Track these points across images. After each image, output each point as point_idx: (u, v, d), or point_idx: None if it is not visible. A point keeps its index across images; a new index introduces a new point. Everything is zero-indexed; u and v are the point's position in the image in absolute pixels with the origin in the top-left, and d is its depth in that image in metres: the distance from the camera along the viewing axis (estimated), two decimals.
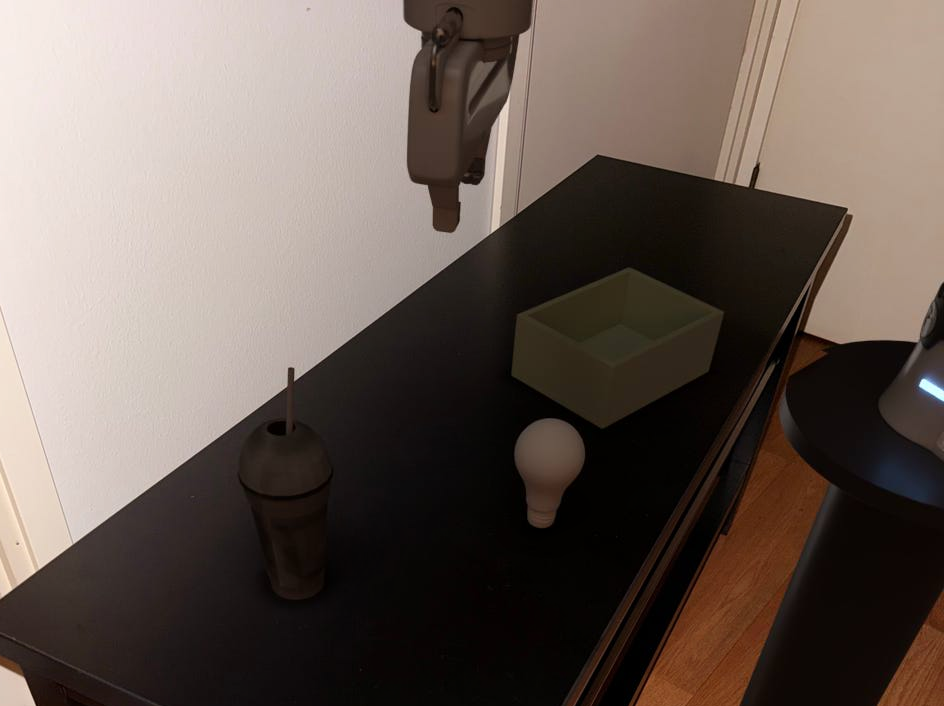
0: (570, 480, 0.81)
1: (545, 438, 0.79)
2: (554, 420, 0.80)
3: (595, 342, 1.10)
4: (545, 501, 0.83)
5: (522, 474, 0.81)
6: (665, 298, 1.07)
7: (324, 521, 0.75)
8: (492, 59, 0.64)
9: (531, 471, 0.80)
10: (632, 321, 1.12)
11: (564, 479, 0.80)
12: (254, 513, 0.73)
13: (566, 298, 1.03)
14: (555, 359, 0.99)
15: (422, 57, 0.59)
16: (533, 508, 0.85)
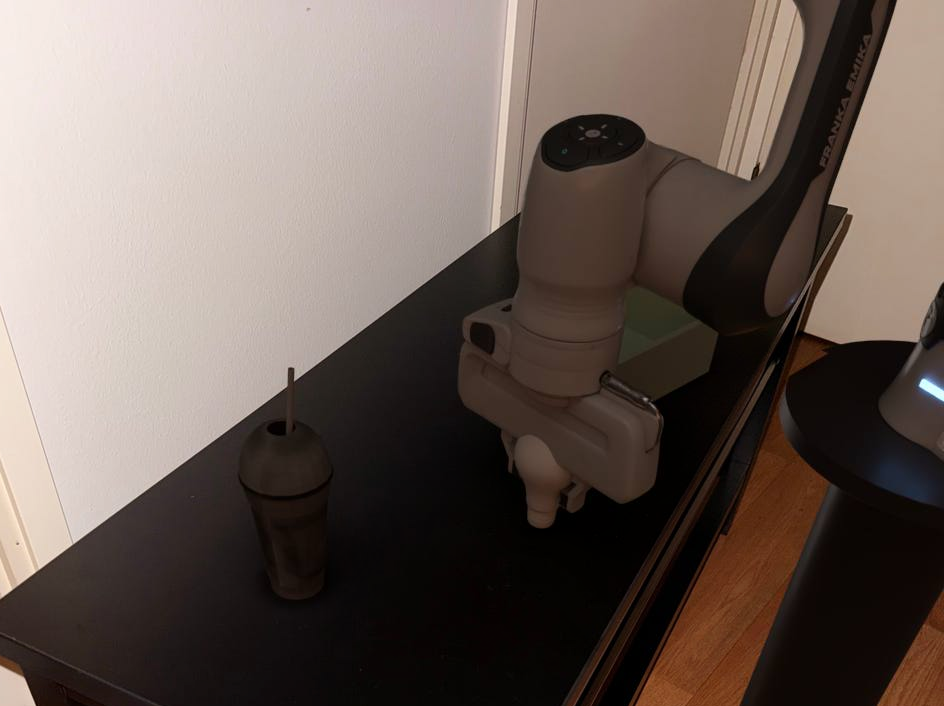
0: (570, 480, 0.81)
1: None
2: None
3: None
4: (545, 501, 0.83)
5: (522, 474, 0.81)
6: None
7: (324, 521, 0.75)
8: None
9: (531, 472, 0.80)
10: (632, 321, 1.12)
11: (564, 479, 0.80)
12: (254, 513, 0.73)
13: None
14: None
15: (630, 420, 0.71)
16: (533, 508, 0.84)
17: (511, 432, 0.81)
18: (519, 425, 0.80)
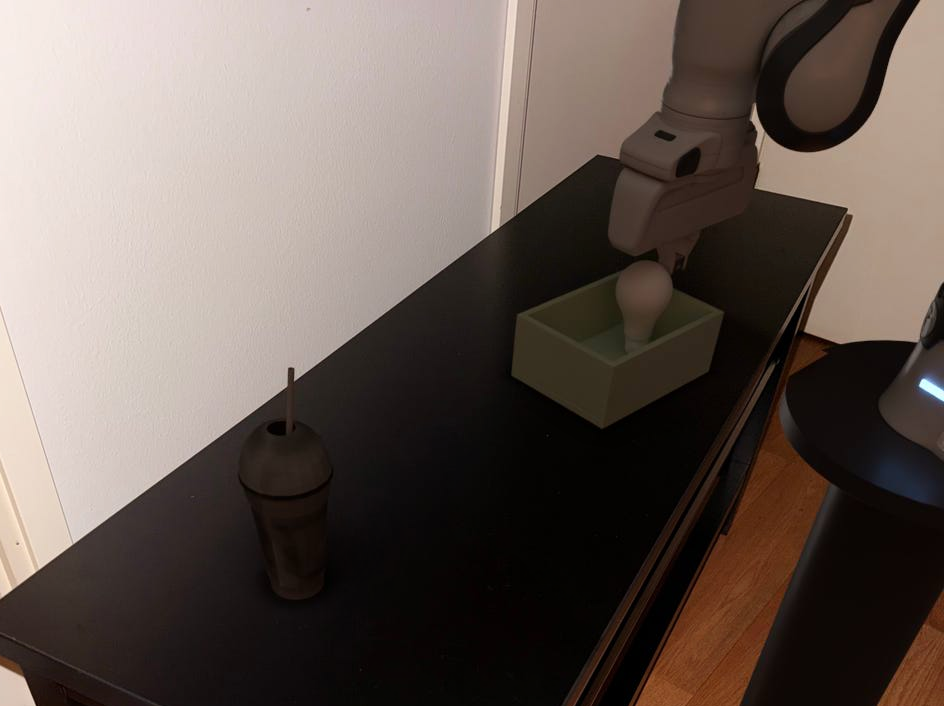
0: (661, 310, 1.02)
1: (641, 275, 0.99)
2: (648, 261, 1.00)
3: (595, 342, 1.10)
4: (641, 330, 1.04)
5: (622, 307, 1.02)
6: None
7: (324, 521, 0.75)
8: None
9: (630, 303, 1.01)
10: None
11: (657, 308, 1.01)
12: (254, 513, 0.73)
13: (566, 298, 1.03)
14: (555, 359, 0.99)
15: (751, 143, 0.99)
16: (630, 338, 1.05)
17: (676, 236, 0.98)
18: (683, 223, 0.97)
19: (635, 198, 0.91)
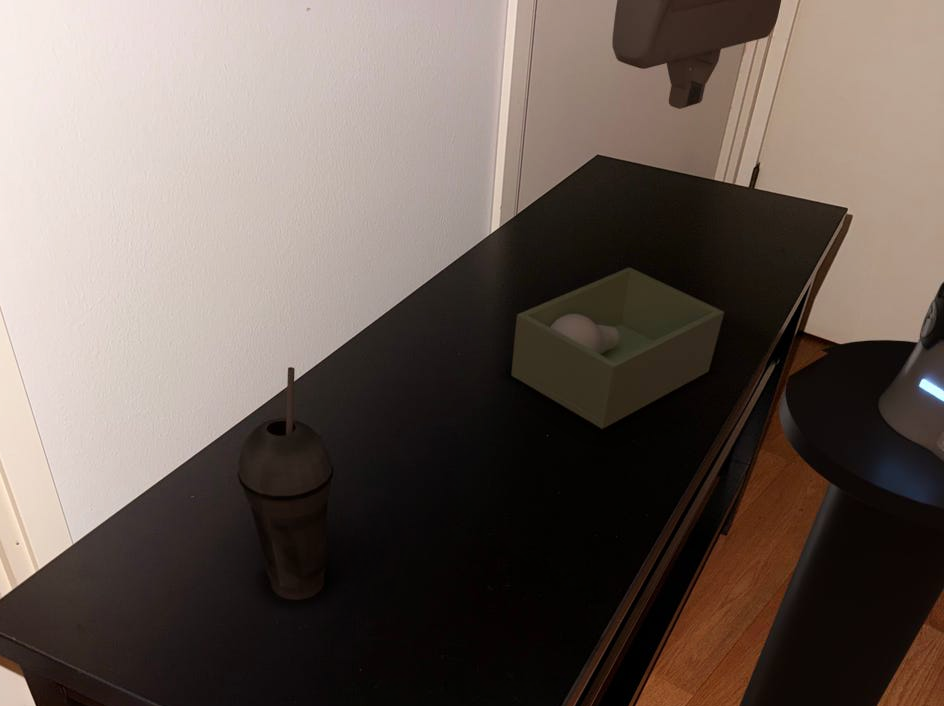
0: (599, 340, 1.02)
1: None
2: None
3: None
4: (603, 349, 1.05)
5: None
6: (665, 298, 1.07)
7: (324, 521, 0.75)
8: None
9: None
10: (632, 321, 1.12)
11: (597, 349, 1.02)
12: (254, 513, 0.73)
13: (566, 298, 1.03)
14: (555, 359, 0.99)
15: None
16: None
17: (692, 51, 0.83)
18: (701, 35, 0.83)
19: None
